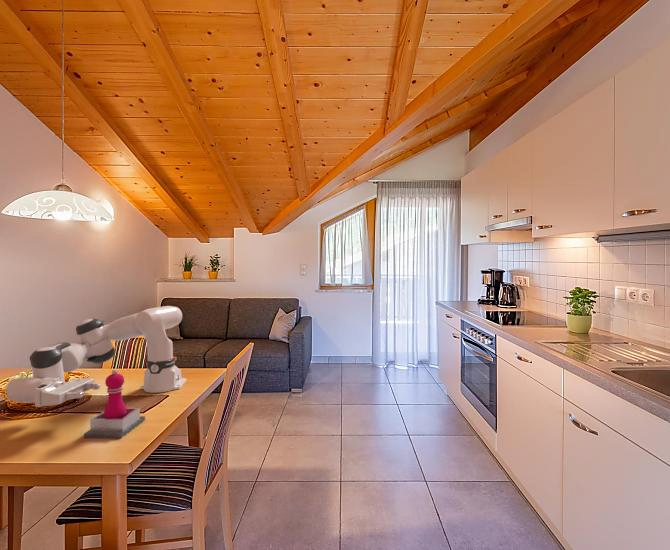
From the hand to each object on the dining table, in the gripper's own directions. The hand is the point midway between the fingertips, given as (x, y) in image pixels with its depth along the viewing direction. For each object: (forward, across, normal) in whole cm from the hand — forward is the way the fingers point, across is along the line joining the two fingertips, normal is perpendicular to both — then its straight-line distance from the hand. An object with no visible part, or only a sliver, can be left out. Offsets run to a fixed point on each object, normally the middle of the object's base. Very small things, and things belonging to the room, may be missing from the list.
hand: (90, 390), depth 146 cm
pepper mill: (+9, 0, -12) cm, 15 cm away
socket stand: (+9, 0, -14) cm, 16 cm away
